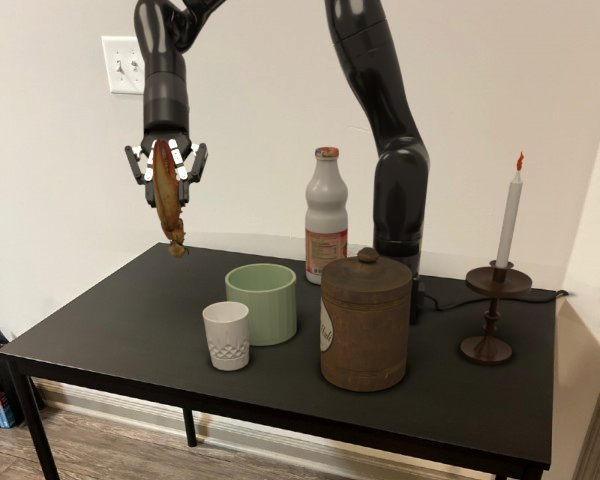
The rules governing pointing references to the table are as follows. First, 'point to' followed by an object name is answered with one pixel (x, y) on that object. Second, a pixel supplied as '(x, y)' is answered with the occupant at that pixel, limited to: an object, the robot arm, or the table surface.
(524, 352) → the table surface
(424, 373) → the table surface
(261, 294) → the crock
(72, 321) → the table surface
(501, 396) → the table surface
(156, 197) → the crab claw
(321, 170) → the fruit juice
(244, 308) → the white cup
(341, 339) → the wooden container
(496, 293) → the candlestick
